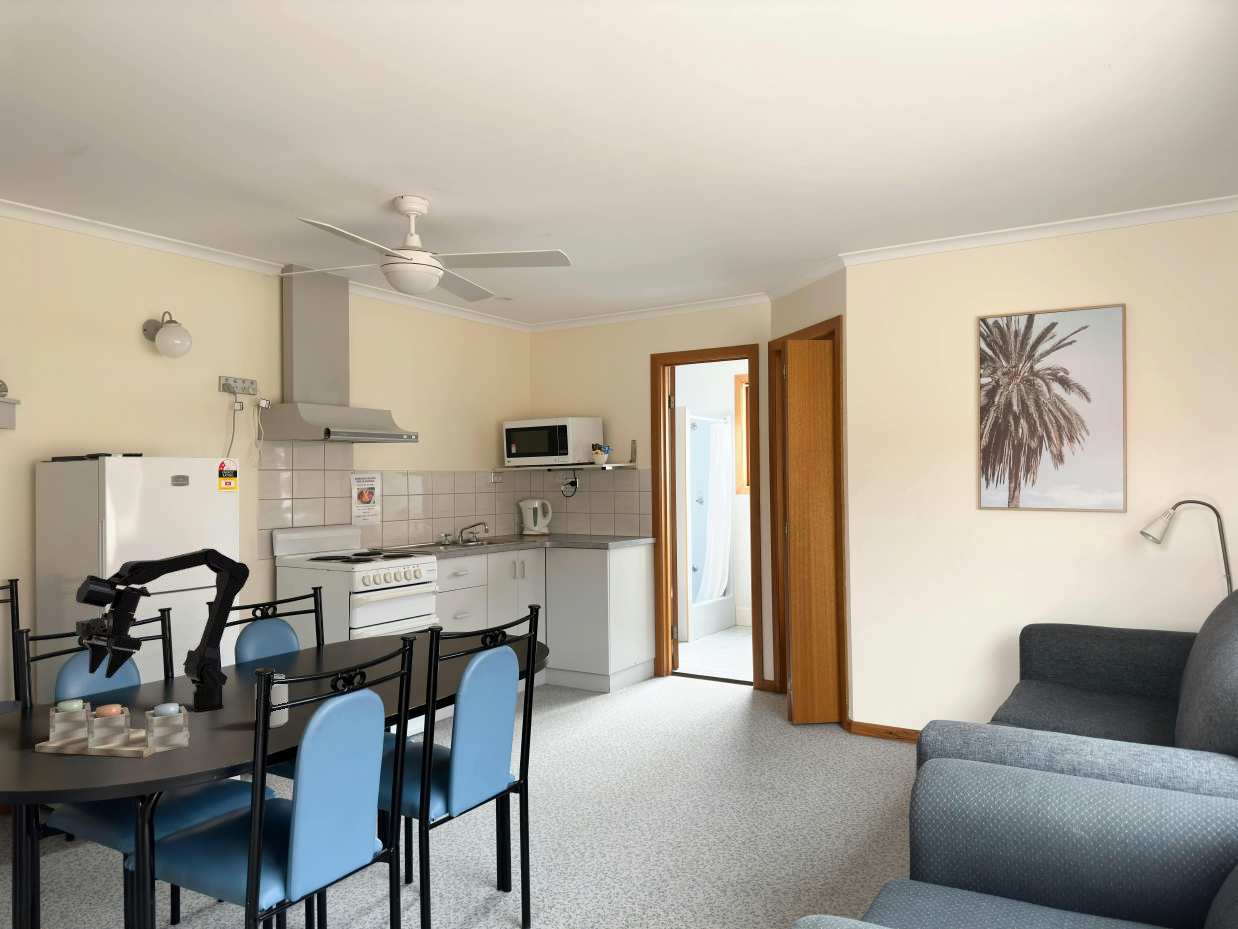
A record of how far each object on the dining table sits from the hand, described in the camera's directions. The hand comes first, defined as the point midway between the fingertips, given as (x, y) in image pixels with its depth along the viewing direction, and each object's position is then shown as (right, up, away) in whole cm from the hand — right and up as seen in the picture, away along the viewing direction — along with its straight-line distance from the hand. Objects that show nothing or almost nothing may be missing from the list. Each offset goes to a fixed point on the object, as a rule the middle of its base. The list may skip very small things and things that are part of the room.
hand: (99, 675), depth 196 cm
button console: (+10, -13, -10) cm, 19 cm away
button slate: (+22, -7, -11) cm, 26 cm away
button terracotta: (+9, -7, -11) cm, 16 cm away
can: (+40, -13, +4) cm, 42 cm away
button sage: (-3, -8, -6) cm, 10 cm away
